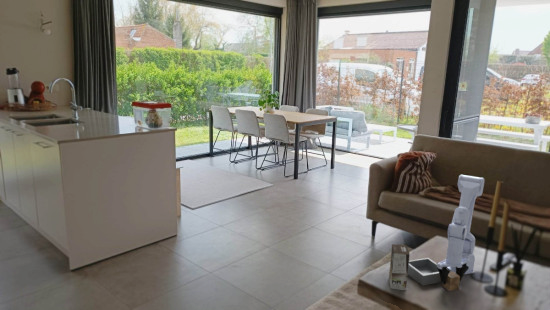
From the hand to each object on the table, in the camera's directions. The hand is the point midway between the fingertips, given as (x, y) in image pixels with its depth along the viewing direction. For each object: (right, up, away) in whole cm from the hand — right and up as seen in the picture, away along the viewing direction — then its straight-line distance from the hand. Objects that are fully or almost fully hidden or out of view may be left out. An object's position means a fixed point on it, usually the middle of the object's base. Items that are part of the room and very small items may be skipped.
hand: (450, 281), depth 165 cm
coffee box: (-22, -2, +2) cm, 22 cm away
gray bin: (-7, 0, +10) cm, 12 cm away
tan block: (0, -3, +1) cm, 3 cm away
